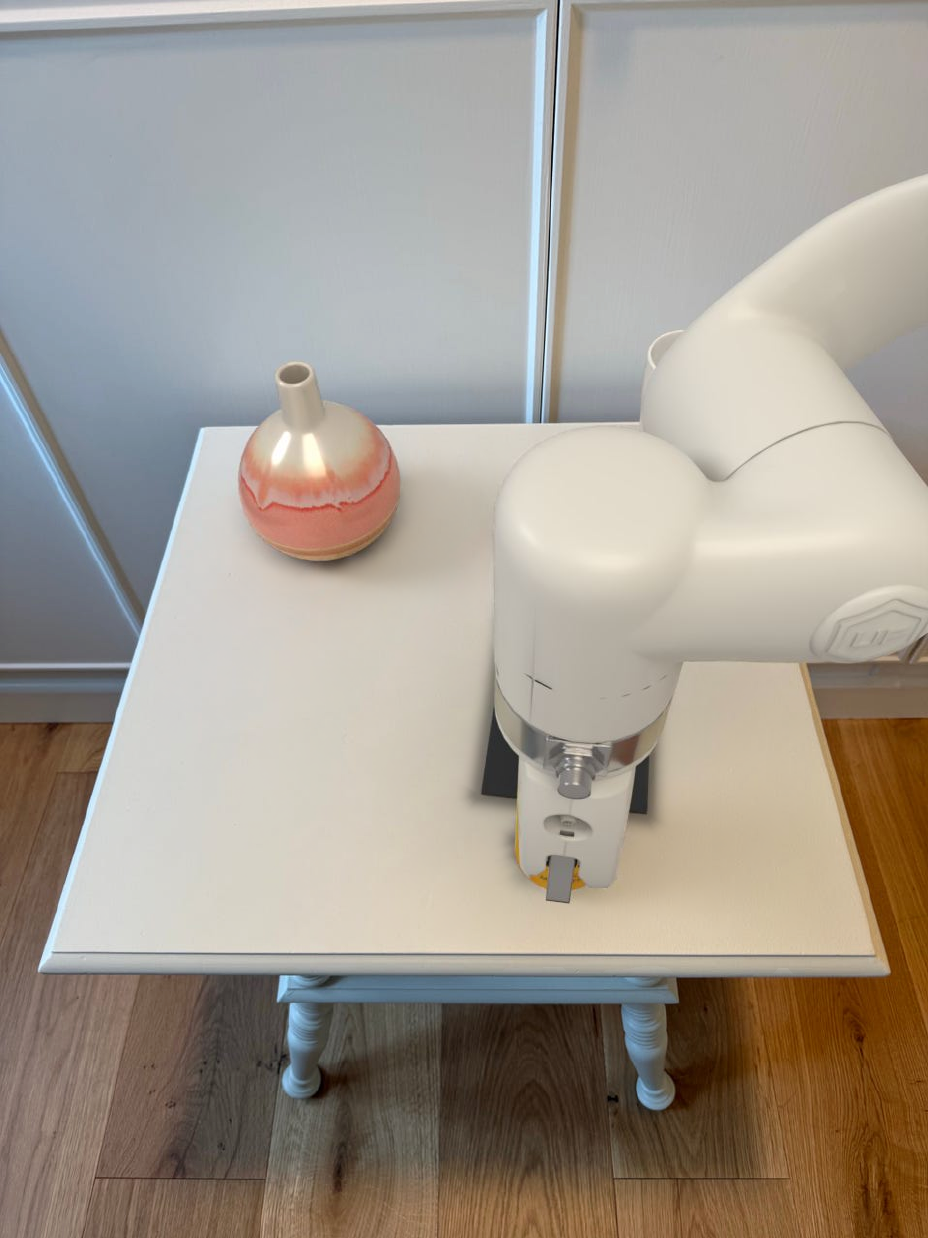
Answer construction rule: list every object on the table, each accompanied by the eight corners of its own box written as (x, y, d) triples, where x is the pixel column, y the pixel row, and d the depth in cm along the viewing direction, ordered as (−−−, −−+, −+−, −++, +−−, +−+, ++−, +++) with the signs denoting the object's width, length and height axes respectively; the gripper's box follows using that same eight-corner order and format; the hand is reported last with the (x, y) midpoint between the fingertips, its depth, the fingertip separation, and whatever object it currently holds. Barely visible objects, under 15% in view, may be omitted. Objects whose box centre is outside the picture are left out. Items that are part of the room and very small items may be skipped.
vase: (375, 456, 88) (350, 297, 74) (429, 556, 81) (412, 401, 67) (237, 502, 86) (183, 346, 71) (280, 610, 78) (229, 459, 64)
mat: (654, 594, 78) (655, 591, 77) (646, 814, 66) (647, 812, 66) (512, 581, 79) (512, 578, 79) (481, 794, 68) (481, 792, 67)
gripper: (668, 865, 35) (617, 990, 50) (672, 559, 43) (628, 744, 58) (471, 841, 36) (479, 971, 50) (513, 546, 44) (510, 731, 59)
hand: (559, 849), depth 54 cm, fingers closed
